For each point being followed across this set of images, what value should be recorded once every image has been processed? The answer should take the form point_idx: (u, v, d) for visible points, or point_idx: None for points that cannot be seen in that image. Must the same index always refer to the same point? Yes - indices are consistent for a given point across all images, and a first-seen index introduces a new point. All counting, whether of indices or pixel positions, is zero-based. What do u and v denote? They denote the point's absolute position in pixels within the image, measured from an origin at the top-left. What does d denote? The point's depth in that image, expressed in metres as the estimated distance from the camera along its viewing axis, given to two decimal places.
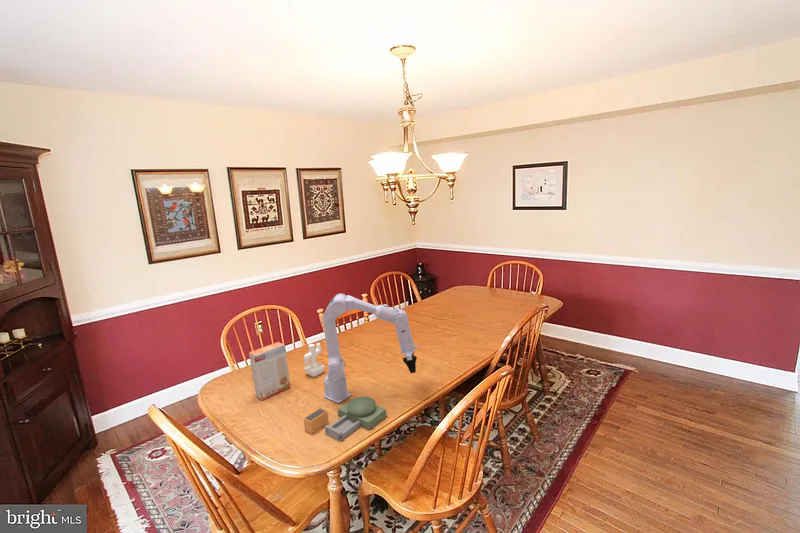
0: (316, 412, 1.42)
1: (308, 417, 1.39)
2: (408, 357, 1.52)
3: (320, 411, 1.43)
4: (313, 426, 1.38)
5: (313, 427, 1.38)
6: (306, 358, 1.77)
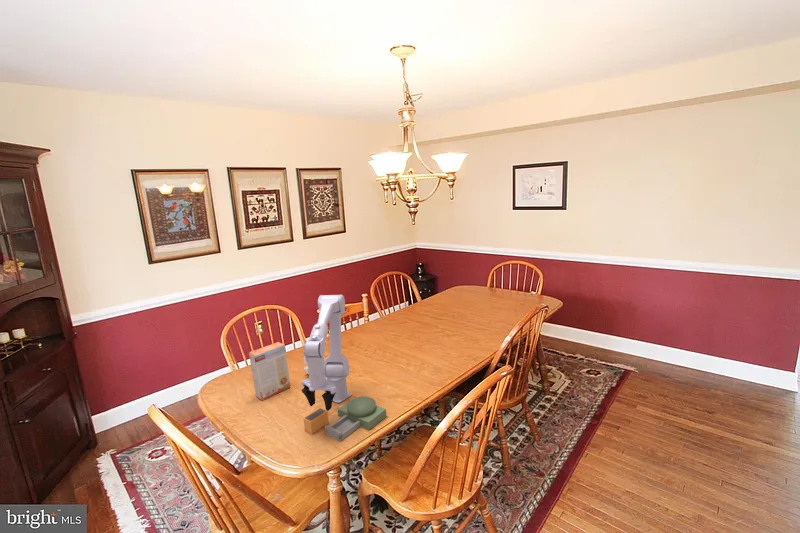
0: (316, 412, 1.42)
1: (308, 417, 1.39)
2: None
3: (320, 411, 1.43)
4: (313, 426, 1.38)
5: (313, 427, 1.38)
6: None
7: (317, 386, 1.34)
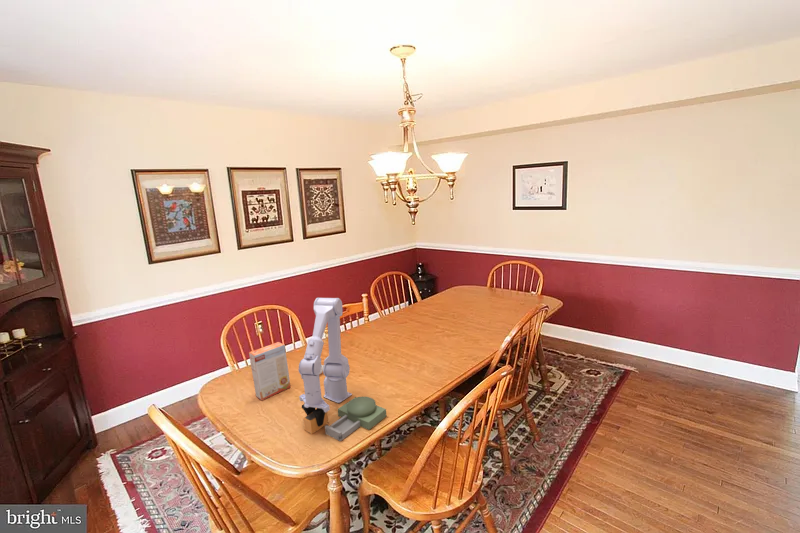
0: None
1: (308, 417, 1.39)
2: None
3: None
4: (313, 426, 1.38)
5: (313, 426, 1.38)
6: None
7: (311, 403, 1.37)
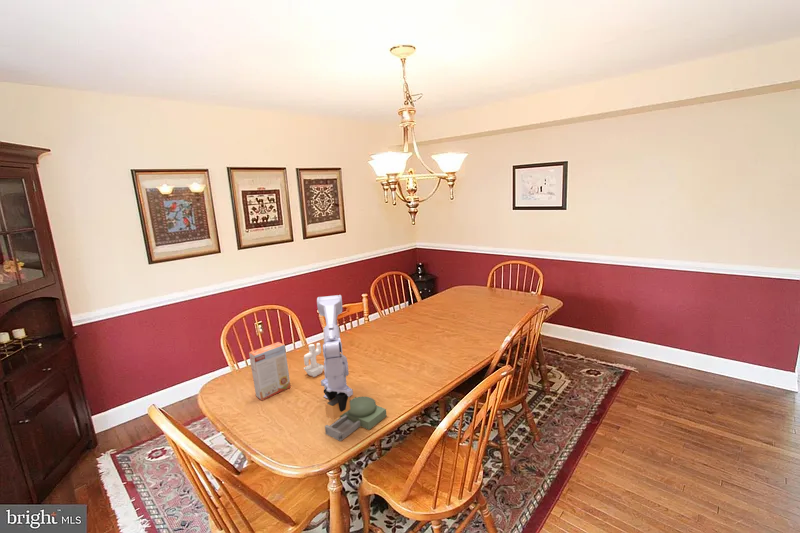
0: None
1: (330, 402, 1.35)
2: None
3: None
4: (335, 411, 1.34)
5: (335, 412, 1.34)
6: (306, 358, 1.77)
7: (334, 387, 1.33)
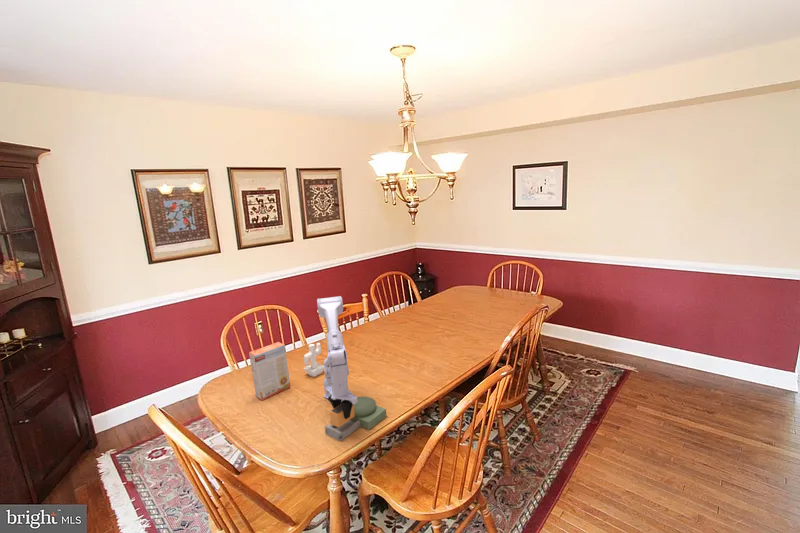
0: None
1: (334, 410, 1.36)
2: None
3: None
4: (340, 419, 1.35)
5: (340, 420, 1.34)
6: (306, 358, 1.77)
7: (339, 395, 1.34)
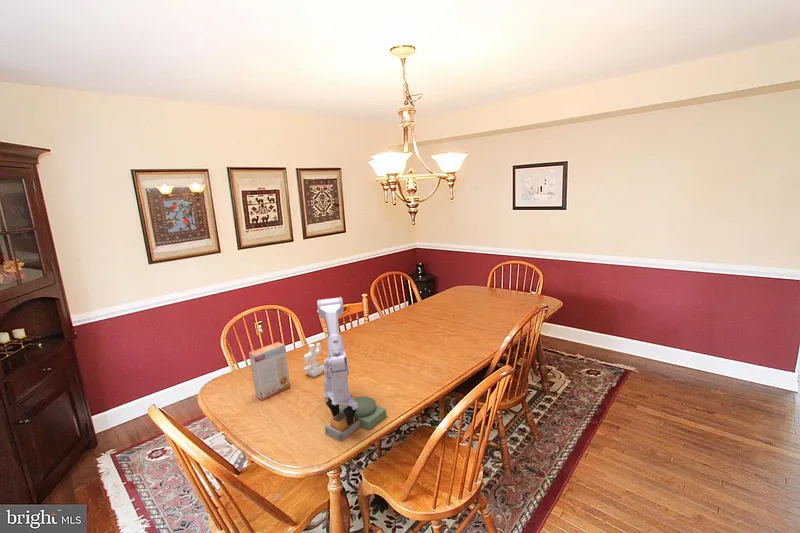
0: (343, 413, 1.39)
1: (335, 418, 1.36)
2: None
3: None
4: (341, 427, 1.35)
5: (341, 428, 1.35)
6: (306, 358, 1.77)
7: (339, 400, 1.34)
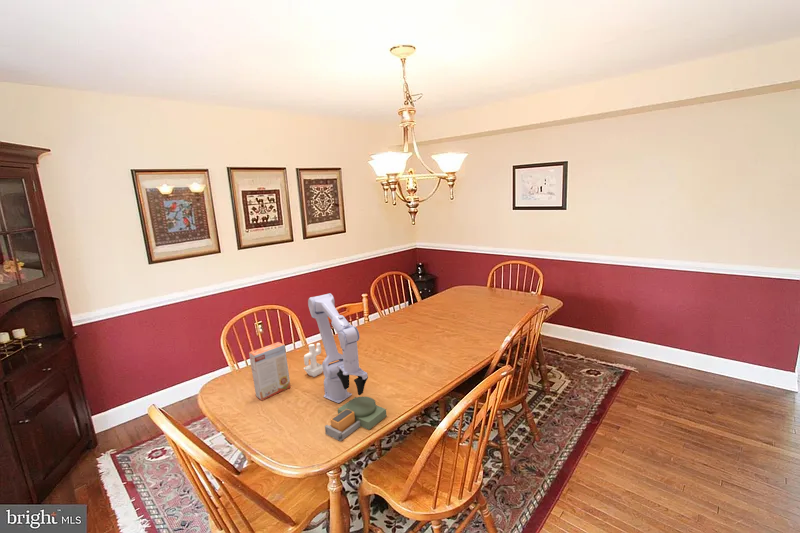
0: (343, 413, 1.39)
1: (335, 418, 1.36)
2: None
3: (347, 412, 1.40)
4: (341, 427, 1.35)
5: (341, 428, 1.35)
6: (306, 358, 1.77)
7: (350, 371, 1.43)
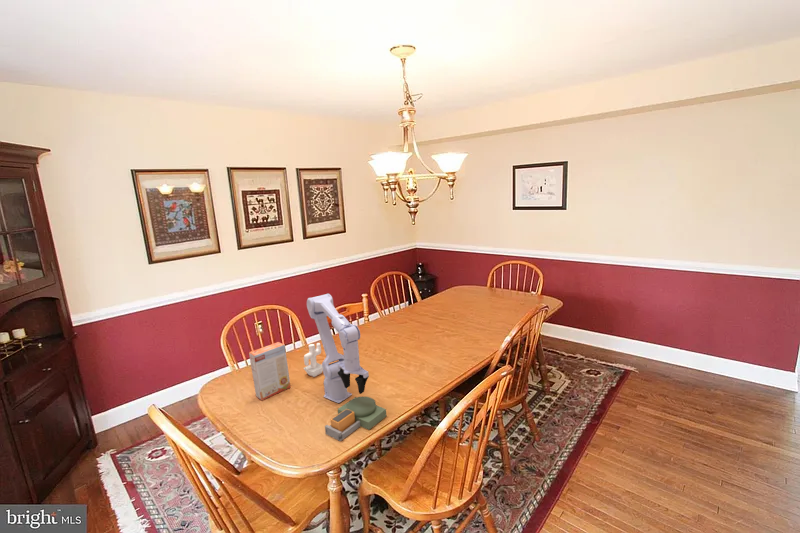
0: (343, 413, 1.39)
1: (335, 418, 1.36)
2: None
3: (347, 412, 1.40)
4: (341, 427, 1.35)
5: (341, 428, 1.35)
6: (306, 358, 1.77)
7: (351, 370, 1.43)
